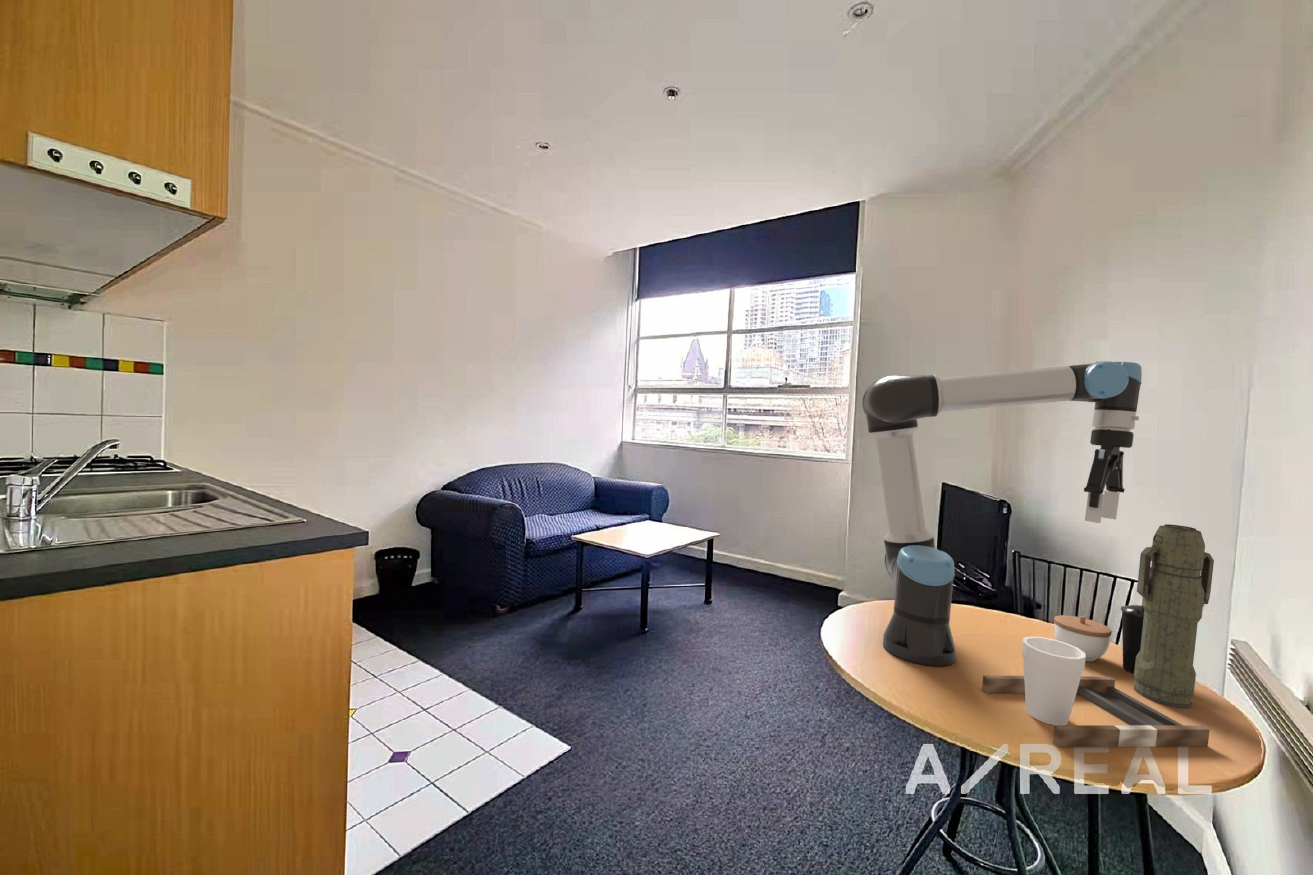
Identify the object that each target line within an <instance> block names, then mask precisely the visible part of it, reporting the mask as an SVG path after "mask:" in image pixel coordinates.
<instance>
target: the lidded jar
mask: <svg viewBox="0 0 1313 875" xmlns="http://www.w3.org/2000/svg"><path fill="white" fill-rule="evenodd" d="M1053 622H1054V623H1053V624H1054V625H1053V629H1054V630H1053V634H1054V640H1057V641H1061V642H1064V643H1067V644H1070V645H1072V646H1074V647H1076V648H1079V649H1080V650H1081V651H1083V652H1084V653H1085V656H1086V659H1085V662H1095V661H1096V659H1099V658H1101V657H1103V656H1104V655H1105V654H1106V653H1107V651H1108V649H1109V647H1110V642H1111V636H1112V632H1113V631H1112V629H1111V628H1110V627H1109V626H1107V625H1105V624H1103V623H1100V622H1098V621H1094V620H1092V619H1089V618H1086V616H1083V615H1080V616H1074V615H1065V614H1064V615H1063V614H1061V615H1056V616H1054V617H1053Z"/></svg>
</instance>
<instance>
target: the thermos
mask: <svg viewBox="0 0 1313 875" xmlns="http://www.w3.org/2000/svg"><path fill="white" fill-rule="evenodd" d="M1205 551H1206V543H1205V540H1204V538H1203V534H1202V531H1201V530H1197V528H1195V527H1191V526H1185V525H1184V526H1183V525H1179V524H1178V525H1177V524H1163V525H1159V526H1158V528H1157V529H1156V531H1155V533H1154V535H1153V537H1152V545H1151V546H1147V547H1144V549H1143V550H1142V551H1141V552H1140V556H1139V557H1140V558H1139V564H1138V565H1139V567H1138V577H1137V584H1136V585H1137V587H1136V592H1137V593H1138V594H1139V595H1140V596H1141V598H1142V599H1143V600H1141V606H1143V608H1144V620H1143V630H1142V639H1141V648H1140V652H1139V653H1138V655H1137V656H1136V662H1135V672H1134V674H1133V678H1134V684H1133V690H1134V691H1135V692H1136V693H1137V694H1138V695H1140V696H1142V697H1143V698H1146V699H1148V700H1150V701H1153V702H1155V703H1157V704H1160V705H1165V706H1168V707H1173V708H1180V709H1189V708H1191V707H1192V703H1193V702H1192V699H1193V695H1194V694H1195V686H1196V679H1197V678H1196V677H1197V673H1196V670H1195V668H1194V659H1195V651H1196V643H1197V642H1196V640H1197V631H1198V623H1199V622H1200V621H1201V619H1202V617H1203V610H1204V606H1205V605H1208V604H1209V602H1210V601H1209V600H1210V597H1211V593H1212V592H1211V591H1212V589H1211V588H1212V582H1213V580H1212V579H1213V572H1214V563H1215V560H1214V558H1213V557H1212V555H1211V554H1210V553H1208V552H1205Z"/></svg>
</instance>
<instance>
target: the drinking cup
mask: <svg viewBox="0 0 1313 875" xmlns="http://www.w3.org/2000/svg"><path fill="white" fill-rule="evenodd" d="M1142 600H1143V598H1142ZM1142 600H1141V601H1142ZM1120 610H1121V624H1122V625H1121V626H1122V627H1121V628H1122V629H1121V630H1122V634H1121V635H1122V668H1123V670H1124V671H1126V672H1128V673H1131V674H1133V675H1134V672H1135V662H1136V656H1137V655H1138V653H1139V652H1140V648H1141V639H1142V630H1143V620H1144V608H1143V606H1142V604H1141V605H1140V604H1139V605H1138V604H1131V605H1121V607H1120Z"/></svg>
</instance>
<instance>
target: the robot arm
mask: <svg viewBox="0 0 1313 875" xmlns="http://www.w3.org/2000/svg"><path fill="white" fill-rule="evenodd" d="M1142 370H1143V369H1142V366H1141V364H1139V363H1137V362H1134V361H1133V362H1132V361H1096V362H1094V363H1085V364H1083V363H1082V364H1076V365H1063V366H1062V365H1061V366H1054V367H1053V366H1052V367H1043V368H1042V367H1041V368H1033V369H1022V370H1011V371H1000V372H990V373H982V374H981V373H980V374H970V375H959V376H951V377H950V376H949V377H938V376H937V375H936V374H926V375H925V374H924V375H921V374H920V375H904V374H903V375H902V374H901V375H900V374H898V375H887V376H885V377H883V378H880V379H877V380H875V381H874V382H872V383H871V384H870V385H869V386H868V387H867V388H866V390H865V391H864V393H863V396H862V408H863V411H864V414H865V415H866V422H867V423H866V424H867V429H868V435H870V436H871V437H873V438H875V439H874V440H875V442H876V449H877V456H878V463H879V470H880V476H881V484H882V490H883V491H882V492H883V497H884V504H885V511H886V519H887V527H888V532H887V533H886V534H885V535H884V536H883V543H884V551H885V554H884V565H885V569H886V572H887V574H888V575H889V576H890V578H891V579H892V580H893V583H894V584H895V590H894V591H895V592H894V600H893V602H894V603H893V612H892V613H893V614H892V615H891V618H890V620H889V622H888V624H887V626H886V629H885V630H884V633H883V636H882V638H883V639H882V645H883V647H884V649H885V651H886V650H887V651H888V652H889V653H890V654H892V655H894V656H896V657H897V658H901V659H903V660H905V661H908V662H911V663H913V664H919V665H922V666H923V665H925V666H931V667H932V666H933V667H946V666H951V665H952V664H954V663H955V661H956V655H957V652H956V650H957V649H956V646H955V641H954V637H953V634H952V630H951V627H950V626H951V625H950V620H951V619H950V617H951V609H952V608H951V607H952V598H953V597H952V596H953V589H954V588H953V587H954V578H955V573H956V571H955V562H954V559H953V557H951V555H949V554H948V553H947V552H945V551H943V550H939V549H938V548H936V544H935V538H934V536H935V535H934V534H933V533H931V532H930V531H929V530H928V529H927V528H926V523H925V514H924V508H923V502H922V501H923V500H922V493H921V487H920V480H919V479H920V478H919V472H918V465H917V464H918V463H917V458H916V457H917V456H916V451H915V445H914V444H915V443H914V438H913V435H914V433H915V432H916V431H917V430H918V428H919V424H918V420H919V419H923V418H924V419H925V418H931V417H932V418H933V417H938V416H939V415H940V414H941V413H942V412H950V411H952V412H953V411H965V410H973V409H974V410H975V409H987V408H996V407H997V408H998V407H1009V406H1011V407H1012V406H1020V405H1021V406H1022V405H1033V404H1034V405H1036V404H1047V403H1056V402H1068V401H1069V402H1085V403H1086V402H1087V403H1094V410H1093V416H1092V422H1091V425H1092V427H1094V429H1092V430H1091V433H1090V441H1089V443H1090V444H1091V445H1092V446H1100V448H1097V449H1095V450H1094V455H1093V461H1092V464H1091V468H1090V471H1089V474H1088V479H1087V483H1086V485H1085V487H1083V492H1085V493H1088V494H1087V501H1086V508H1085V515H1084V522H1091V523H1095V524H1101V523H1102V522H1101V521H1102V519H1110V520H1117V515H1118V508H1119V500H1120V493H1125V488H1124V483H1123V481H1124V477H1123V476H1124V475H1123V474H1124V455H1125V452H1124V451H1123V450H1120V448H1124V449H1125V448H1127V449H1130V448H1132V447H1133V443H1134V432H1132V431H1131V430H1134V429H1135V426H1136V422H1135V421H1139V420H1140V417H1139V416H1138V415H1137V411H1138V404H1139V398H1140V397H1139V396H1140V391H1141V385H1142V383H1143V382H1142V375H1143V372H1142ZM1105 489H1106V490H1105ZM1103 493H1104V494H1103Z"/></svg>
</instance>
